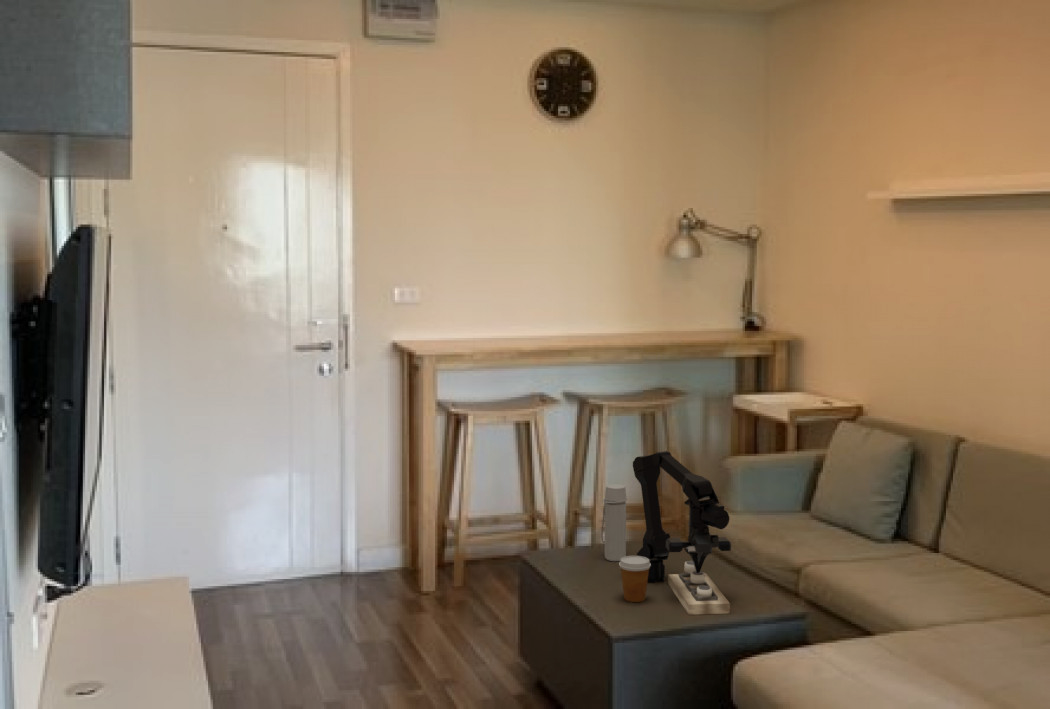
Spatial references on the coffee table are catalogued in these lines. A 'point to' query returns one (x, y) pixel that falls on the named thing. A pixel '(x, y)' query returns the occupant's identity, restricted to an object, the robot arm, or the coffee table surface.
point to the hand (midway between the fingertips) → (697, 572)
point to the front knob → (704, 591)
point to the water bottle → (614, 522)
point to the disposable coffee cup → (634, 577)
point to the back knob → (689, 567)
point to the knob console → (695, 604)
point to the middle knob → (697, 577)
